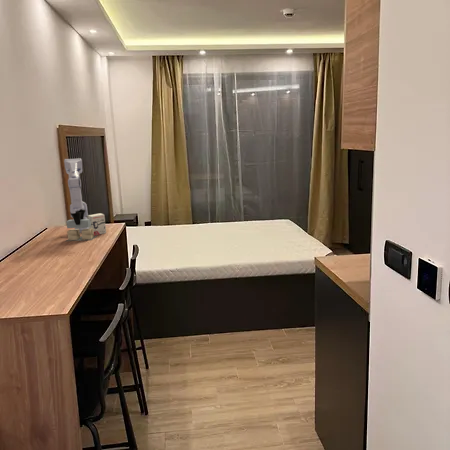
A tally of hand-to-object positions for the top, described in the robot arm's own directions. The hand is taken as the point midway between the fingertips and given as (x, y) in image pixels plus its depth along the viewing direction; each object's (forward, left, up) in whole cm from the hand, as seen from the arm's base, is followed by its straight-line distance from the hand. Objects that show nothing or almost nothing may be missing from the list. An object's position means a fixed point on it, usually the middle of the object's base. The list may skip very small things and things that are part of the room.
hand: (79, 223), depth 241 cm
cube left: (0, -4, -8) cm, 9 cm away
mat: (-1, 0, -9) cm, 9 cm away
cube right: (0, +4, -8) cm, 9 cm away
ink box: (-11, +6, -9) cm, 15 cm away
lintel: (0, 0, -2) cm, 2 cm away
